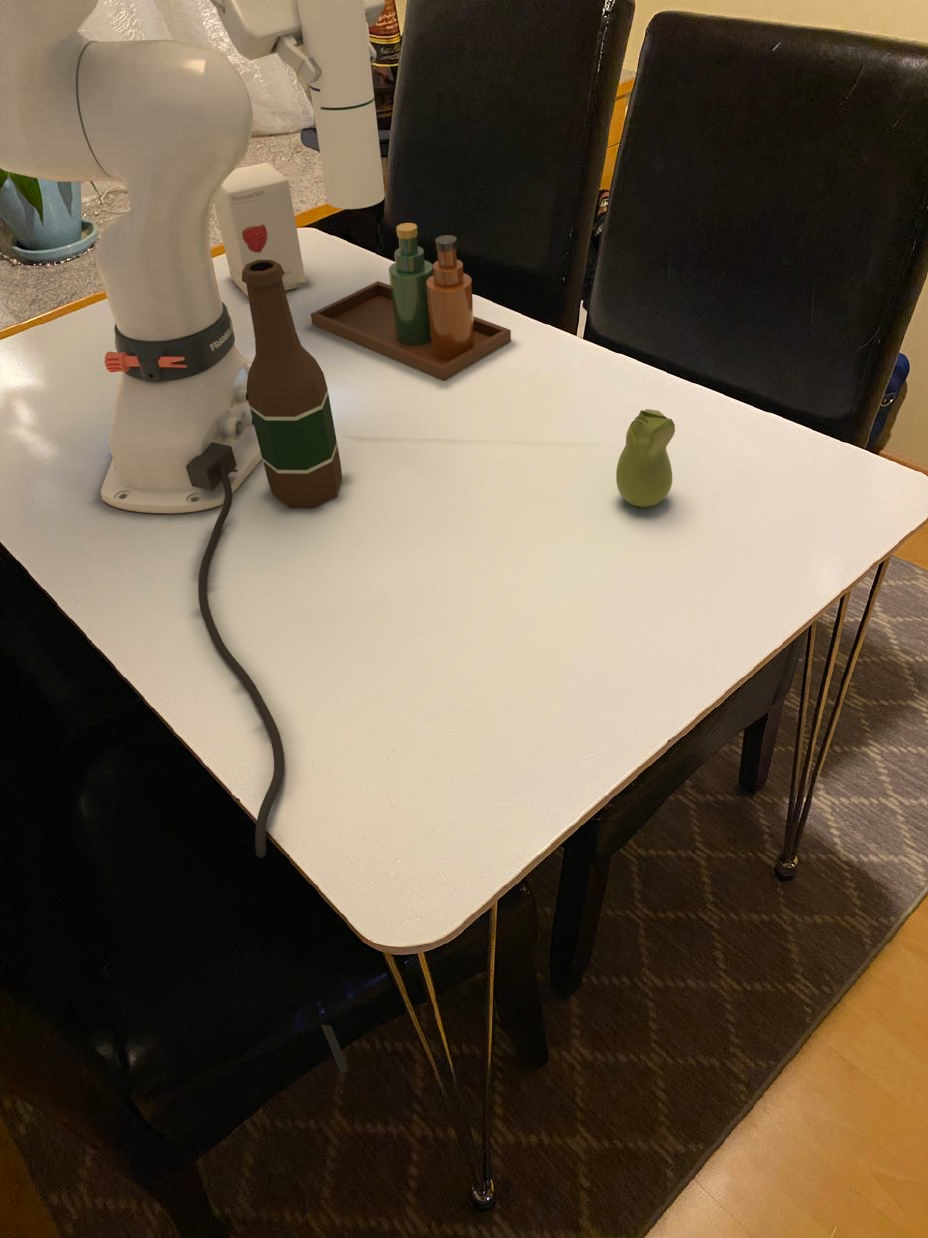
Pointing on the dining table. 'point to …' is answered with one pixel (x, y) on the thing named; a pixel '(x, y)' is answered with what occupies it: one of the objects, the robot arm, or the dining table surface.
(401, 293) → the green bottle
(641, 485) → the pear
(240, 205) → the white product box
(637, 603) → the dining table surface
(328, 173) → the cylindrical container
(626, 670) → the dining table surface
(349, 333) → the tray
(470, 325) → the amber bottle
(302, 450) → the beer bottle
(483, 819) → the dining table surface
